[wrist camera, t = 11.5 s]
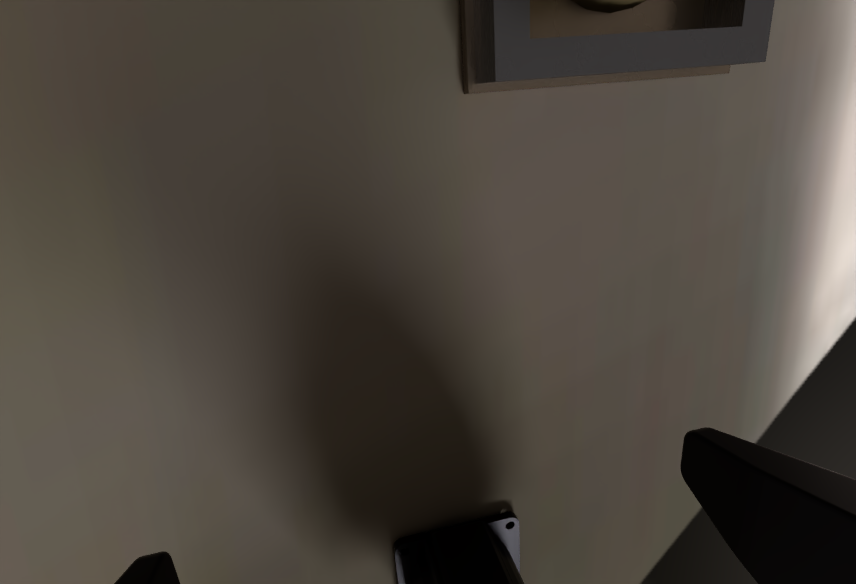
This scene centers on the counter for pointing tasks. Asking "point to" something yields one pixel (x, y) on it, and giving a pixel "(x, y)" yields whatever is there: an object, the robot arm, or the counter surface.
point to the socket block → (606, 41)
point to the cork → (608, 5)
